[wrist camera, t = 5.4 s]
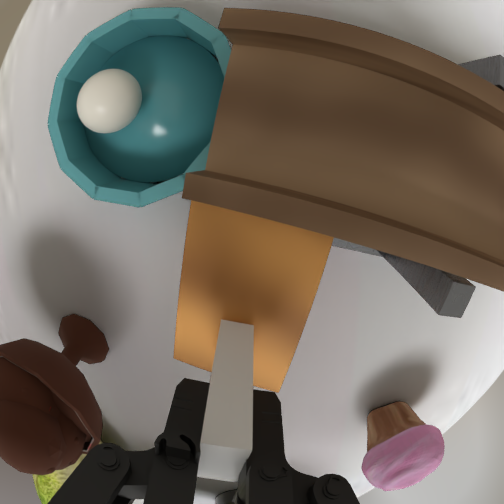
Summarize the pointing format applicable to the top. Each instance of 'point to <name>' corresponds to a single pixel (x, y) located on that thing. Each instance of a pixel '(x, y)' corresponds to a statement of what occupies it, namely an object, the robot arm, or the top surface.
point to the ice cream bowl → (49, 399)
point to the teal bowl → (143, 105)
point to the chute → (332, 176)
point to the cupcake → (400, 447)
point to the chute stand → (425, 277)
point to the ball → (109, 101)
